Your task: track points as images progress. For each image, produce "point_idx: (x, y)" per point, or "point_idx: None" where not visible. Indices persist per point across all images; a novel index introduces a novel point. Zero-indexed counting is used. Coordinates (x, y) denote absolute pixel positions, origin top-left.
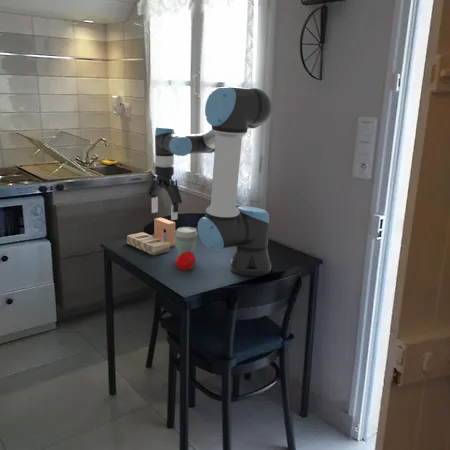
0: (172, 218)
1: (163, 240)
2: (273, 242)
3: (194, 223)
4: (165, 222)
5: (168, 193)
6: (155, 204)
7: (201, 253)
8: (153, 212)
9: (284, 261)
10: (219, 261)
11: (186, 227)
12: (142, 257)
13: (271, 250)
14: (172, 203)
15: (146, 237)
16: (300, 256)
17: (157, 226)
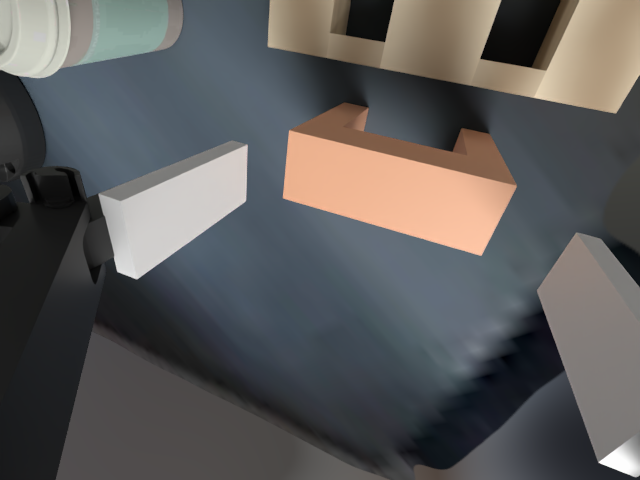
0: (222, 146)
1: (333, 57)
2: (150, 347)
3: (471, 442)
4: (340, 150)
5: (9, 350)
6: (585, 334)
7: (179, 133)
8: (569, 244)
9: None
10: (77, 99)
11: (11, 38)
12: None
13: (103, 289)
14: (37, 173)
15: (492, 14)
16: None
17: (457, 153)
